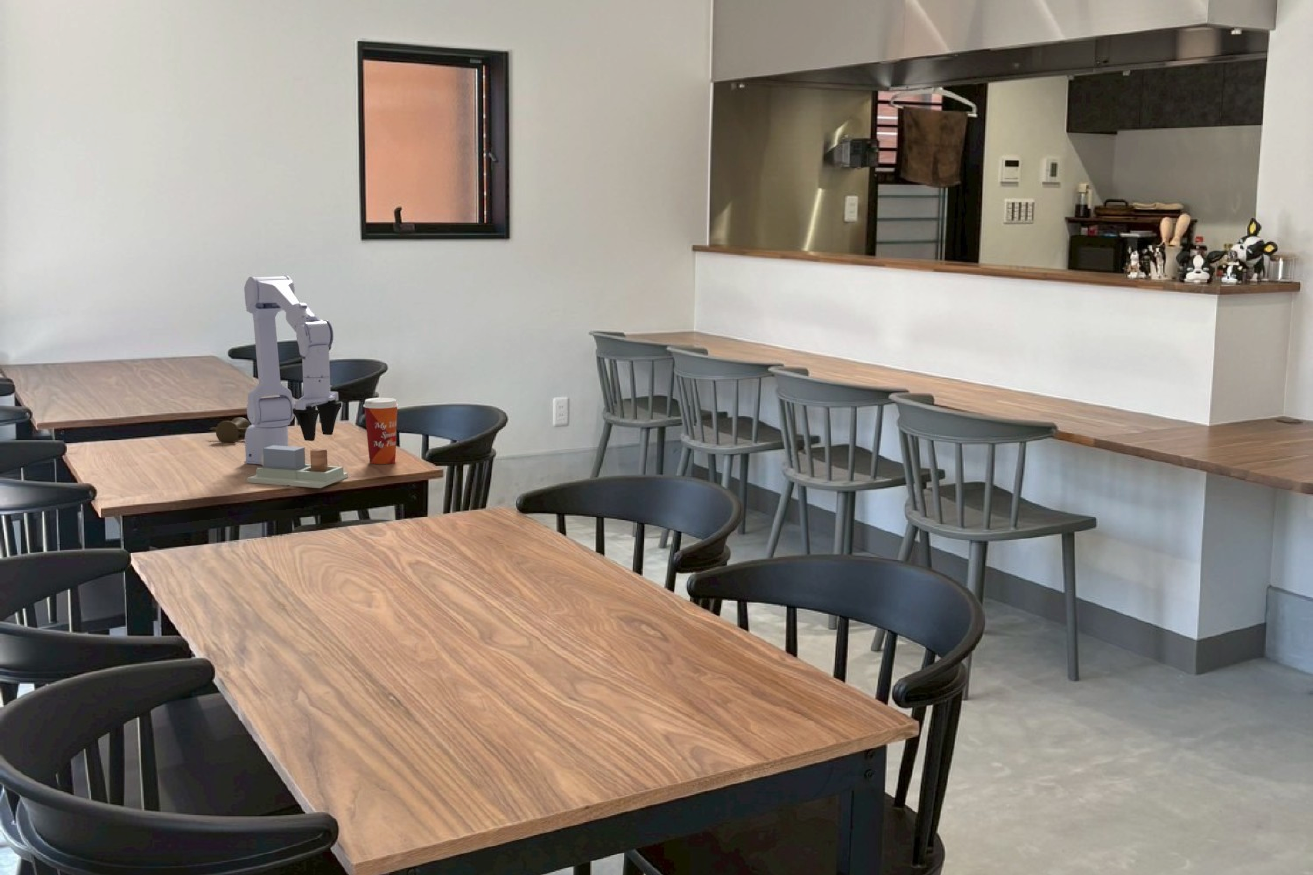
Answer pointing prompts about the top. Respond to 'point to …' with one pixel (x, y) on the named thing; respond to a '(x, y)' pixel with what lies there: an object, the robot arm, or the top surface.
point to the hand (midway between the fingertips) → (318, 437)
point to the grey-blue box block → (283, 457)
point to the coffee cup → (381, 429)
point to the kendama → (231, 430)
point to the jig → (298, 476)
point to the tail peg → (319, 460)
